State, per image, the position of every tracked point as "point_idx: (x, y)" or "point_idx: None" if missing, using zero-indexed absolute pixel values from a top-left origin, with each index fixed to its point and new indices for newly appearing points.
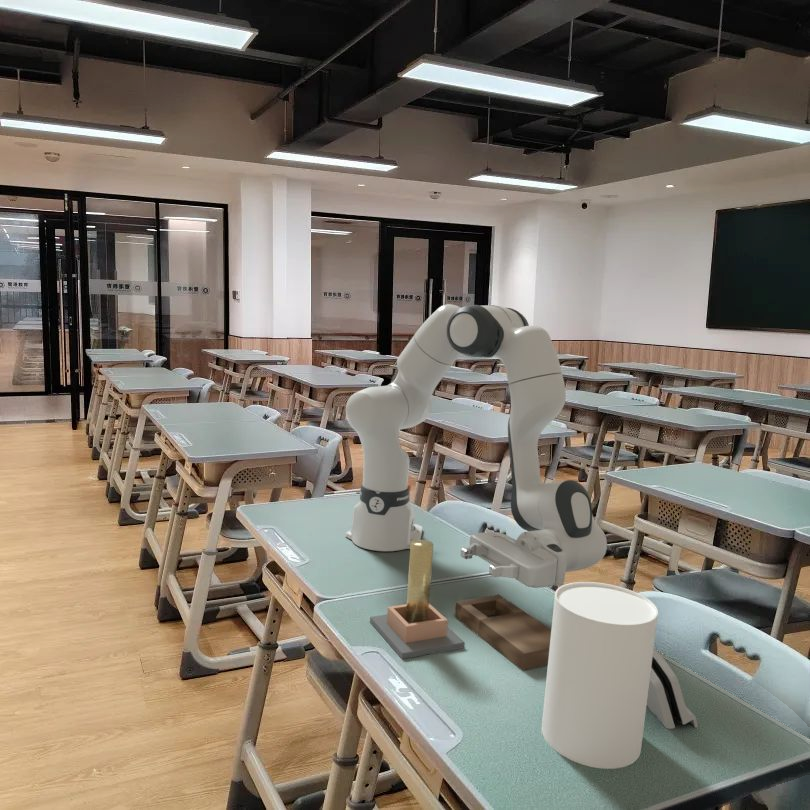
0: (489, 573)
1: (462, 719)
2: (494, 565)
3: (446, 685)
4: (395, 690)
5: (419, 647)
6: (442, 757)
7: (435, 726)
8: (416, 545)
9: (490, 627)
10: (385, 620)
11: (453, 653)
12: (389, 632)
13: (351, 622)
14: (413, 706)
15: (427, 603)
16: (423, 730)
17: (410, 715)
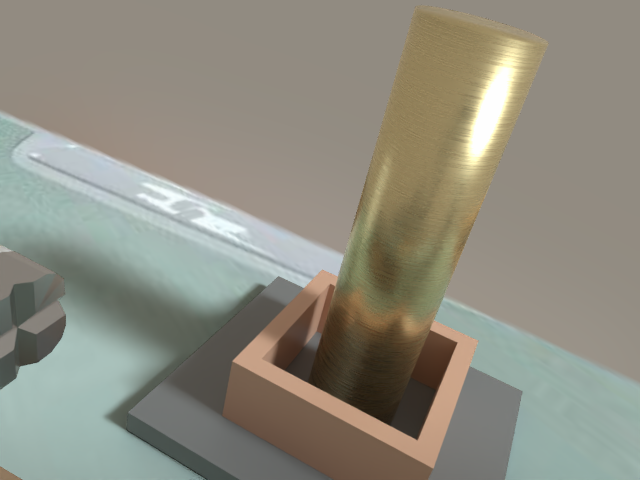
0: (57, 326)
1: (23, 182)
2: (5, 282)
3: (103, 248)
4: (207, 208)
5: (258, 314)
6: (37, 127)
7: (76, 163)
8: (470, 16)
9: (6, 472)
10: (471, 396)
11: (151, 376)
12: None
13: (539, 376)
14: (144, 187)
15: (333, 296)
16: (95, 154)
17: (137, 172)
